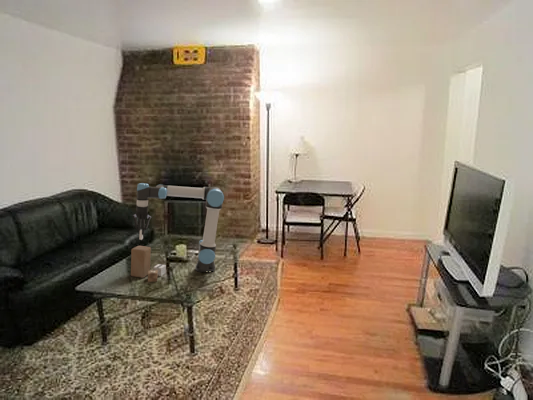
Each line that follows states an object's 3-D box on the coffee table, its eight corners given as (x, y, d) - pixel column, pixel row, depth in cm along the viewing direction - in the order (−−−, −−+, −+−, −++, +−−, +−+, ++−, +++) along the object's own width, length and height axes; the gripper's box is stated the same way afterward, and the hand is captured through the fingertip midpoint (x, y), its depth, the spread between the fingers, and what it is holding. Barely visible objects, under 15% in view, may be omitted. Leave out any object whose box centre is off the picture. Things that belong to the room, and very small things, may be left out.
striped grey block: (165, 273, 270) (165, 264, 269) (161, 276, 263) (161, 268, 262) (158, 271, 271) (158, 263, 270) (153, 275, 264) (153, 266, 263)
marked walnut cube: (157, 278, 259) (157, 269, 258) (157, 281, 253) (157, 273, 252) (148, 278, 258) (148, 270, 257) (147, 281, 252) (148, 273, 251)
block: (143, 278, 257) (144, 250, 254) (130, 276, 259) (130, 248, 255) (150, 273, 266) (151, 246, 263) (137, 271, 268) (138, 245, 265)
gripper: (153, 205, 258) (152, 238, 262) (134, 204, 258) (133, 236, 262) (149, 207, 251) (148, 241, 254) (130, 205, 251) (129, 239, 255)
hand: (141, 239), depth 258 cm, fingers closed
